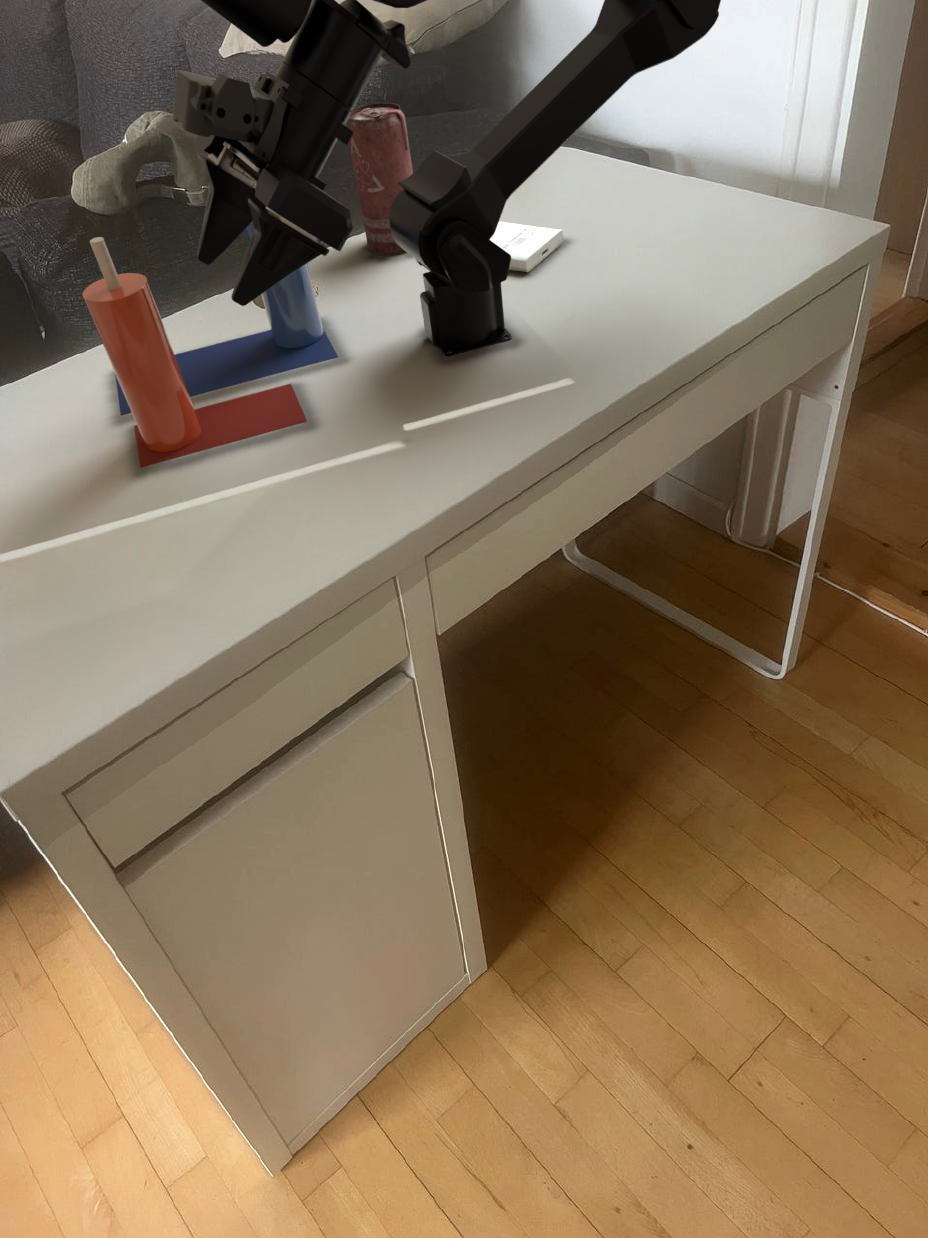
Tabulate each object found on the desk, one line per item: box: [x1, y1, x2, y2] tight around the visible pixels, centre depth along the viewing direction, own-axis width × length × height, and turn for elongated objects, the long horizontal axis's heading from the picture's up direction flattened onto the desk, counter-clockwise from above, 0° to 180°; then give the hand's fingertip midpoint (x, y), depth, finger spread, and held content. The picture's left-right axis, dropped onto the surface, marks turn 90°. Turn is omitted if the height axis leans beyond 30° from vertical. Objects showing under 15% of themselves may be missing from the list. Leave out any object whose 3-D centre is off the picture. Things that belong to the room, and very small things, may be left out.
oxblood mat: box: [133, 383, 308, 468], centre depth 77 cm, size 14×7×1 cm, turn 109°
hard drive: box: [490, 221, 564, 273], centre depth 97 cm, size 2×8×12 cm
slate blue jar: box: [243, 207, 324, 348], centre depth 82 cm, size 5×5×12 cm
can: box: [345, 102, 414, 257], centre depth 96 cm, size 6×6×14 cm
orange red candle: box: [82, 236, 201, 452], centre depth 70 cm, size 5×5×16 cm
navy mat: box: [115, 328, 339, 416], centre depth 84 cm, size 20×9×1 cm, turn 109°
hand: (219, 281), depth 70 cm, fingers open, 9 cm apart
